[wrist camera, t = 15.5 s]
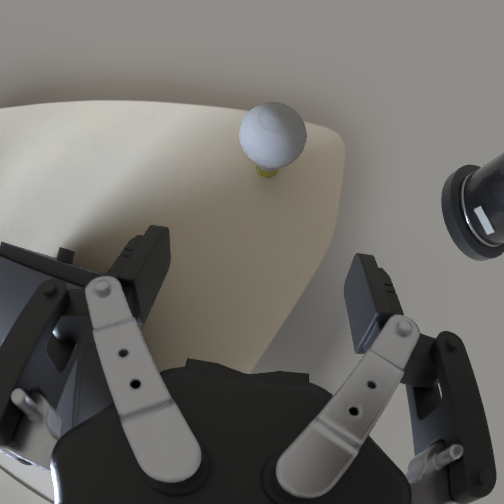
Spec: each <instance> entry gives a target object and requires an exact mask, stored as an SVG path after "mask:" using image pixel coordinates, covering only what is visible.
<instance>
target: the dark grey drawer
mask: <svg viewBox="0 0 504 504" xmlns="http://www.w3.org/2000/svg"><path fill="white" fill-rule="evenodd" d="M74 254H75V252H74V251H71V250H68V249H65V248H61V247H60V248H59V252H58V256H57V259H56V258H53V257H50V256H47V255H44V254H40V253H37V252H33V251H30V250H27V249H24V248H20V247H17V246H14V245H11V244H8V243H5V242H1V245H0V255H2V256H4V257H6V258H9V259H11V260H14V261H16V262H19V263H21V264H24V265H26V266H29V267H31V268H34V269H36V270H39V271H42V272H44V273H47V274H50V275H52V276H55V277H58V278H61V279H64V280H66V281H69V282H72V283H75V284H78V285H81V286H84V287H86V286H87V285H88V283H89V282H90V281H92V280H93V279H95V278H98V277H101V276H106V274H104V273H101V272H97V271H94V270H91V269H87V268H84V267H81V266H78V265H75V264H72V262H73V258H74Z"/></svg>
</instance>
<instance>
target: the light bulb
mask: <svg viewBox="0 0 504 504" xmlns="http://www.w3.org/2000/svg"><path fill="white" fill-rule="evenodd" d="M306 138H307V133H306V128H305V124H304V122H303V120H302V118H301V117H300V115H299V114H298V113H297V112H296V111H295V110H294V109H292V108H291V107H289V106H287V105H285V104H281V103H275V102H271V103H263V104H260V105H258V106H256V107H255V108H253V109H252V110H250V111H249V112H248V113H247V114H246V116H245V117H244V119H243V121H242V123H241V125H240V131H239V139H240V144H241V147H242V149H243V150H244V152H245V154H246V155H247V157H248V158H249V159H250V160H252V161H253V162H255V163H256V164H257V171H258V173H259V174H260V175H261V176H263V177H266V178H269V177H273V176H274V175H275V174H276V173H277V171H278V168H279V167H283V166H286V165H288V164H290V163H292V162H293V161H294V160H295V159H296V158H297V157H298V156H299V155H300V154H301V153H302V151H303V149H304V146H305V143H306Z"/></svg>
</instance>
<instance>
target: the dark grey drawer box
mask: <svg viewBox="0 0 504 504" xmlns="http://www.w3.org/2000/svg"><path fill="white" fill-rule="evenodd" d="M50 279H61V278H58V277H55V276H52V275H50V274H47V273H44V272H42V271H39V270H36V269H34V268H31V267H29V266H26V265H24V264H21V263H19V262H16V261H14V260H11V259H9V258H6V257H4V256H2V255H0V347H1V345H2V343H3V341H4V340H5V338H6V336H7V334H8V333H9V331H10V329H11V328H12V326H13V324H14V323H15V321H16V320H17V318H18V316H19V315H20V313H21V312H22V310H23V309H24V307H25V305H26V304H27V302H28V301H29V299H30V298H31V296H32V295H33V293H34V292H35V291H36V289H37V288H38V286H39V285H40V284H42V283H43V282H45V281H47V280H50ZM61 280H63V281H64V282H65V283H66V286H67V289H83V288H86V287H84V286H81V285H78V284H75V283H72V282H69V281H66V280H64V279H61ZM113 402H114V400H113V397H112V395H111V392H110V389H109V386H108V383H107V380H106V377H105V374H104V371H103V367H102V364H101V361H100V358H99V354H98V351H97V347H96V343H95V342H84V343H83V345H82V348H81V350H80V352H79V354H78V357H77V359H76V361H75V364H74V366H73V368H72V371H71V373H70V376H69V378H68V381H67V383H66V386H65V388H64V391H63V393H62V396H61V398H60V401H59V404H58V407H57V409H56V411H57V412H58V414H59V415H60V418H61V428H60V437H61V436H62V435H63V434H65V433H66V432H67V431H69V430H70V429H72V428H74V427H75V426H77V425H79V424H80V423H82V422H83V421H85V420H86V419H88V418H90V417H91V416H93V415H94V414H96V413H97V412H99V411H101V410H102V409H104V408H105V407H107V406H108V405H110V404H111V403H113Z"/></svg>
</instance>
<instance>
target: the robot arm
mask: <svg viewBox="0 0 504 504" xmlns="http://www.w3.org/2000/svg"><path fill="white" fill-rule="evenodd" d="M459 206H460V211H461V215H462V218H463V220H464V223H465V225H466V227H467V229H468V231H469V232H470V234H471V235H472V236H473V238H474V239H475V240H476V241H477V242H479V243H480V244H481V245H483V246H485V247H490V248H492V247H496V246H500V245H502V246H504V153H502V154H501V155H499V156H498V157H496V158H495V159H493V160H492V161H490V162H489V163H487V164H486V165H484V166H483V167H481V168H480V169H478V170H477V171H475V172H472V173H471V174H469V175H467V176H466V177H465V178H464V179H463V181H462V183H461V185H460V189H459ZM170 261H171V254H170V237H169V228H168V227H164V226H156V225H151V226H150V227H149V228H148V230H147V231H146V232H145V234H144V235H137V236H136V237H134V238H133V239H131V240H130V241H129V242H128V244H127V245H126V246H125V248H124V250H123V251H122V252H121V254H120V256H118V258H117V259H116V261H115V262H114V264H113V265H112V267H111V268H110V270H109V271H108V273H107V274H106V276H101V277H98V278H95V279H93V280H92V281H90V282H89V283H88V285H87V286H86V288H83V289H67V286H66V283H65V282H64V281H63V280H61V279H50V280H47V281H45V282H43V283H42V284H40V285H39V286H38V288H37V289H36V291H35V292H34V293H33V295H32V296H31V298H30V299H29V301H28V302H27V304H26V305H25V307H24V309H23V310H22V312H21V313H20V315H19V316H18V318H17V320H16V321H15V323H14V324H13V326H12V328H11V329H10V331H9V333H8V334H7V336H6V338H5V340H4V341H3V343H2V345H1V347H0V451H2V452H3V453H5V454H6V455H8V456H9V457H12V458H14V459H16V460H17V461H19V462H21V463H22V464H25V465H35V466H37V467H40V468H42V469H44V470H46V471H48V472H50V473H52V478H53V482H54V489H55V504H468V503H470V502H473V501H475V500H478V499H480V498H482V497H485V496H487V495H488V494H489V493H490V492H491V491H492V490H493V488H494V486H495V483H496V468H495V461H494V455H493V449H492V443H491V438H490V434H489V429H488V425H487V420H486V416H485V412H484V408H483V404H482V400H481V397H480V393H479V389H478V386H477V382H476V379H475V376H474V373H473V370H472V367H471V363H470V360H469V357H468V355H467V352H466V349H465V346H464V344H463V342H462V340H461V339H460V338H459V337H458V336H457V335H456V334H454V333H452V332H448V331H443V332H441V333H440V334H439V335H438V336H437V338H436V339H435V338H432V337H429V336H426V335H423V334H421V333H420V332H419V328H418V326H417V325H416V323H415V322H414V321H413V320H411V319H410V318H408V317H406V316H404V314H403V310H402V308H401V305H400V302H399V300H398V297H397V294H395V289H394V287H393V284H392V282H391V279H390V277H389V275H388V274H387V273H386V272H385V271H384V270H383V268H378V266H377V263H376V261H375V258H374V256H372V255H365V254H359V253H357V254H356V255H355V256H354V259H353V261H352V264H351V267H350V270H349V272H348V275H347V278H346V281H345V285H344V297H345V302H346V307H347V312H348V317H349V322H350V328H351V333H352V339H353V345H354V350H355V353H357V354H364V356H363V357H362V359H361V360H360V361H359V363H358V364H357V366H356V367H355V368H354V370H353V371H352V372H351V374H350V375H349V377H348V378H347V379H346V380H345V382H344V383H343V384H342V386H341V387H340V389H338V391H337V392H336V393H335V395H334V396H333V395H332V394H331V393H329V392H328V391H326V390H325V389H323V388H322V387H320V386H317V385H315V384H312V383H309V374H306V373H294V372H283V371H277V372H268V373H259V374H245V373H242V372H239V371H236V370H234V369H231V368H228V367H226V366H223V365H220V364H218V363H213V362H207V361H201V360H195V359H189V358H187V362H186V366H185V367H176V368H171V369H167V370H164V371H162V372H159V371H158V369H157V367H156V365H155V363H154V361H153V358H152V356H151V354H150V352H149V350H148V347H147V345H146V343H145V341H144V338H143V336H142V334H141V331H140V329H139V326H138V324H142V325H144V323H145V321H146V319H147V317H148V314H149V312H150V310H151V307H152V305H153V303H154V301H155V299H156V296H157V294H158V292H159V290H160V287H161V285H162V283H163V281H164V279H165V277H166V275H167V272H168V270H169V267H170ZM84 342H95V343H96V347H97V351H98V354H99V358H100V361H101V364H102V367H103V371H104V374H105V377H106V380H107V383H108V386H109V389H110V392H111V395H112V397H113V400H114V402H113V403H111V404H110V405H108V406H107V407H105V408H104V409H102V410H101V411H99V412H97V413H96V414H94V415H93V416H91V417H90V418H88V419H86V420H85V421H83V422H82V423H80V424H79V425H77V426H75V427H74V428H72V429H70V430H69V431H67V432H66V433H65V434H63V435H62V436H61V437H60V428H61V418H60V415H59V414H58V412H57V411H56V409H57V407H58V404H59V401H60V398H61V396H62V393H63V391H64V388H65V386H66V383H67V381H68V378H69V376H70V373H71V371H72V368H73V366H74V364H75V361H76V359H77V357H78V354H79V352H80V350H81V348H82V345H83V343H84ZM399 383H403V384H406V390H407V397H408V403H409V409H410V416H411V424H412V433H413V442H414V452H415V457H414V458H413V459H412V460H411V461H410V463H409V466H408V472H407V473H406V476H405V475H404V473H403V472H402V471H401V470H400V469H399V468H398V467H397V466H396V465H395V464H394V463H393V461H392V460H391V459H390V458H389V457H388V456H387V455H386V454H385V453H384V452H383V450H382V449H381V448H380V447H379V446H378V445H377V444H376V443H375V442H374V440H373V439H372V438H371V437H370V436H369V433H370V432H371V430H372V429H373V427H374V426H375V424H376V422H377V421H378V419H379V417H380V416H381V414H382V412H383V411H384V409H385V407H386V406H387V404H388V402H389V401H390V399H391V397H392V395H393V393H394V392H395V390H396V388H397V386H398V384H399ZM438 383H440V387H441V392H442V399H441V396H440V391H439V387H438Z"/></svg>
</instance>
